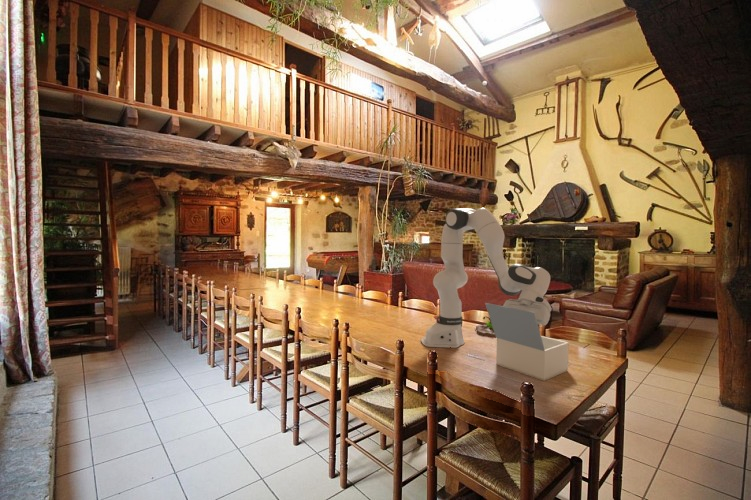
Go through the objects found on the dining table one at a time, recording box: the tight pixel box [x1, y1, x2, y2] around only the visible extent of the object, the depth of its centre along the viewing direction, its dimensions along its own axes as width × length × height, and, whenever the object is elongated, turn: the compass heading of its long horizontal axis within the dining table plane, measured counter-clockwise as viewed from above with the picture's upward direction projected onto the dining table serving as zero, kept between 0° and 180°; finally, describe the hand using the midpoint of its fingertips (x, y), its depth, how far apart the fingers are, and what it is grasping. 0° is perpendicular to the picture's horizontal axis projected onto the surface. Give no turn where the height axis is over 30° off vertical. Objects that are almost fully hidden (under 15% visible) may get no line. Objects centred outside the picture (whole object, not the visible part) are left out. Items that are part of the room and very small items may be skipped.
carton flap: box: [484, 302, 545, 351], centre depth 145 cm, size 18×22×1 cm
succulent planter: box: [475, 316, 496, 338], centre depth 208 cm, size 20×20×11 cm
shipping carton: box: [496, 335, 570, 382], centre depth 154 cm, size 18×22×12 cm
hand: (516, 328), depth 146 cm, fingers closed, pressing on carton flap
